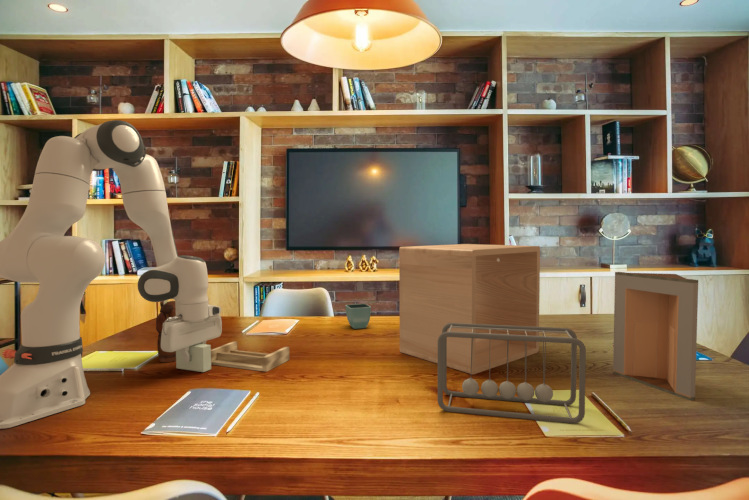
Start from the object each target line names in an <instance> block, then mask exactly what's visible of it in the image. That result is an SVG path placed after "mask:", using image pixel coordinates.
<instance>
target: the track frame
mask: <svg viewBox="0 0 749 500" xmlns="http://www.w3.org/2000/svg"><path fill="white" fill-rule="evenodd" d="M288 361H290V346H283V347H281V348H279V349H277V350H274V351H273V352H271V353H265V352H257V351H247V350H238V341H236V340H235V341H233V340H232V341H231V342H228V343H225V344H222V345H220V346H217V347H215V348H211V366H219V367H220V366H221V367H227V368H235V369H241V370H243V369H244V370H250V371H259V372H264V373H265V372H266V373H268V372H269V371H271V370H273V369H274V368H277V367H278V366H280V365H283V364H284V363H286V362H288Z"/></svg>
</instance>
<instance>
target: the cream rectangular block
mask: <svg viewBox="0 0 749 500" xmlns="http://www.w3.org/2000/svg"><path fill="white" fill-rule="evenodd" d="M211 347H212V346H211V344H207V343H206V344H196V345H192V346H189V350H188V353H189V355H192V361H190V362H184V361H183V355H182V354H181V352H180V350H177V351H176V361H175V364H176V368H175V369H180V370H185V371H192V372H199V373H200V372H201V373H204V372H207V371H210V370H212V365H211V349H212V348H211Z"/></svg>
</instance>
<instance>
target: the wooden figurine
mask: <svg viewBox="0 0 749 500" xmlns="http://www.w3.org/2000/svg"><path fill="white" fill-rule="evenodd" d="M174 316H176V306H175V300H170V301H166V302H165V303H164V304H162V306H161V308H160V310H159V314H157V316H156V319H155V331H156V332H158V336H157V340H156V341H157V343H156V345H157V355H158V359H159V362H160V363H171V362H176V351H174V352H165V351H163V350H162V349H161V334H162V329H163V323H164V322H165V320H167V318H169V317H174ZM167 322H168V321H167Z"/></svg>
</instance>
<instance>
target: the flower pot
mask: <svg viewBox="0 0 749 500" xmlns="http://www.w3.org/2000/svg"><path fill="white" fill-rule="evenodd" d="M371 312H372V306H371V305H369V304H367V303H353V304H345V314H346V319H347V322H348V325H349V326H350V327H351V328H352V329H354V330H358V329H366V328H367V327H368V325H369V323H370V320H371Z"/></svg>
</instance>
